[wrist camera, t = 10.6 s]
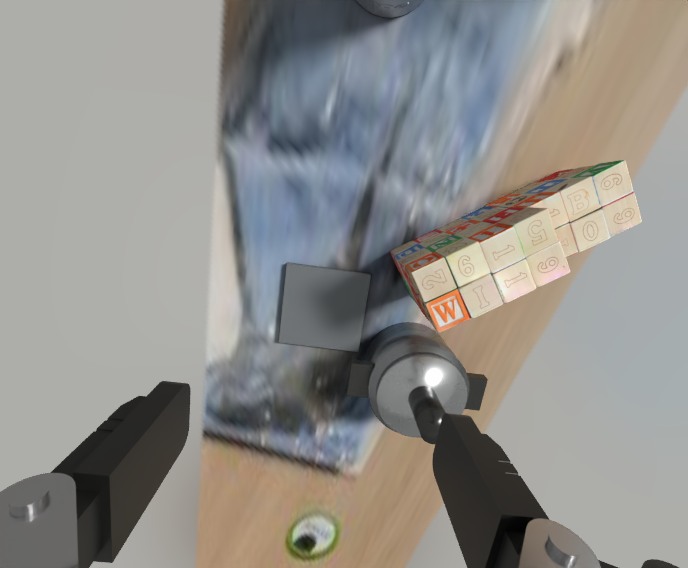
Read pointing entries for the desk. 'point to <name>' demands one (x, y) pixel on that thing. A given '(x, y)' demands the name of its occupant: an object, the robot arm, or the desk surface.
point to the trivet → (323, 307)
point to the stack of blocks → (515, 242)
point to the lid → (420, 394)
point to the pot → (398, 344)
